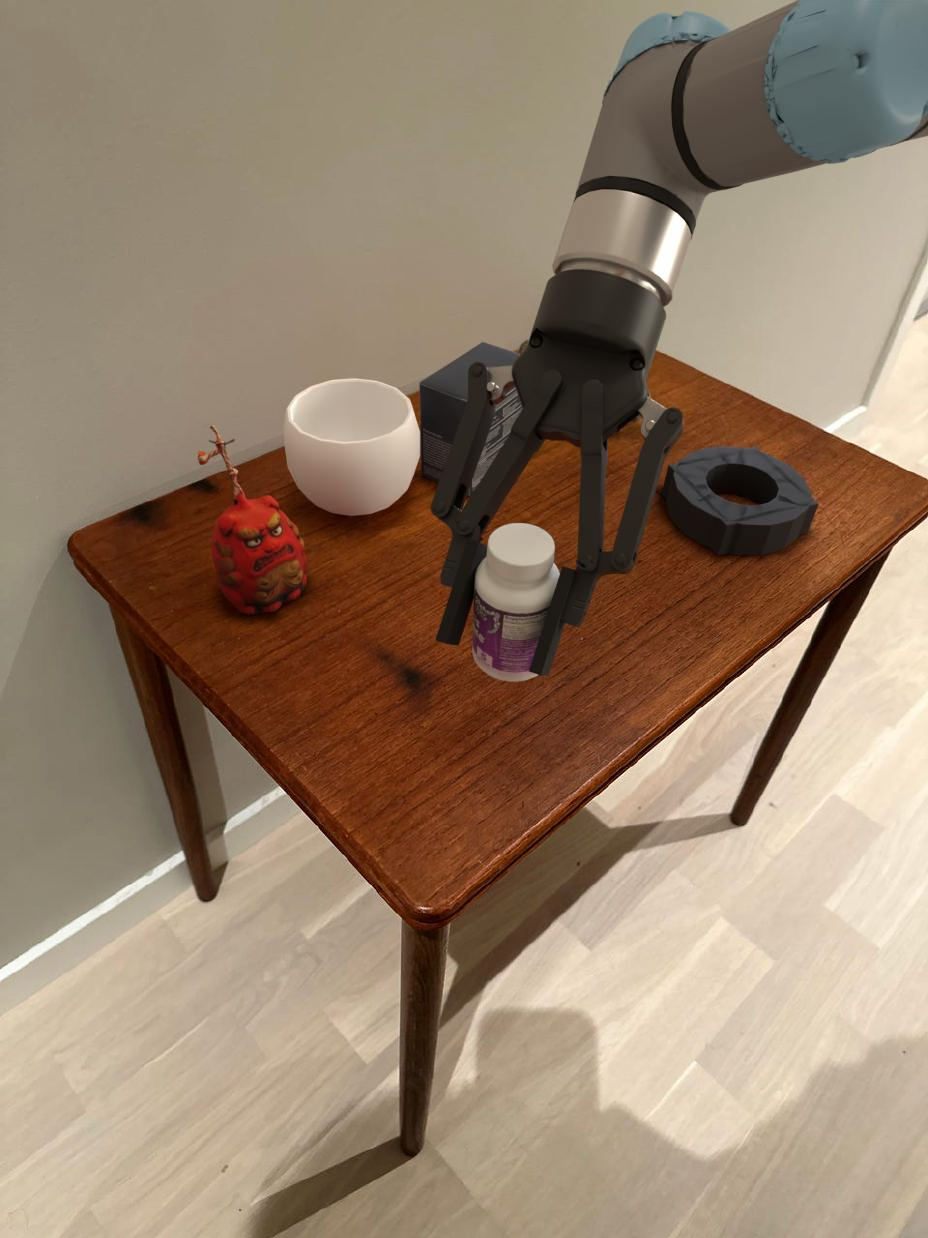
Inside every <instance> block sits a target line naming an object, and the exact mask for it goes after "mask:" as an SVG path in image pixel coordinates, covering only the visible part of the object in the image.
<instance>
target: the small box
mask: <svg viewBox="0 0 928 1238" xmlns="http://www.w3.org/2000/svg"><path fill="white" fill-rule="evenodd" d="M520 355H521V354H520V353H518V352H515V351H512V350H509V349H507V348H503V347H500V346H497V345H494V344H491V343H489V342H485V341H481V342H480V343H478V344H477V345H476V346H474V347H472V348H470V350H468V351H466V352H465V353H463V354H462V355H460V356H458V357H457V358H455V359H454V360H452V361H451V362H449V363H447V364H446V365H444V366H443V367H441V368H439V369H438V370H437V371H435V372H434V373H432V374H430V375H429V376H427V377H426V378H423V379H422V380H421V381H419V382H418V383H419V414H420V415H419V420H420V421H419V422H420V423H419V424H420V426H419V427H420V428H419V429H420V473H421V474H420V475H421V476H422V477H425V478H426V479H429V480H431V481H433V482H435V483H437V484H438V483H439V481H440V478H441V475H442V472H443V469H444V466H445V463H446V461H447V458H448V455H449V452H450V449H451V446H452V443H453V441H454V438H455V435H456V432H457V429H458V426H459V423H460V420H461V418H462V415H463V412H464V409H465V406H466V403H467V400H468V370H469V367H470V366H471V365H472V364H473V363H475V362H482V363H484V364H485V366H486V367H487V368H489V367H500V366H510V365H513V364H514V362H515V360H516V359H517V358H518V357H519V356H520ZM522 409H523V408H522V405H521V402H520V399H519V396H518V393H517V390H516V387H515V386H512V387H510V388H509V389H508V391H507V392H506V396H505V399H504V400H503V401H502V402H501V403H499V404H496V410H495V416H494V419H493V423H492V425H491V428H490V431H489V434H488V437H487V440H486V443H485V445H484V448H483V451H482V454H481V457H480V460H479V463H478V465H477V468H476V471H475V474H474V477H473V480H472V482H471V485H470V488H469V491H468V494H467V497H471V495H472V494H473V492H474V490H475V489H476V487H477V486H478V484H479V483H480V481H481V479H482V478H483V476H484V475H485V473H486V471H487V470H488V468H489V467H490V465H491V464H492V462H493V460H494V459H495V457H496V456H497V454H498V452H499V451H500V449H501V448H502V446H503V445H504V443H505V441H506V440H507V438H508V437H509V435H510V432H511V428H512V425H513V424H514V422H515V420H516V419H517V417H518V416H519V414H520V412H521V411H522Z"/></svg>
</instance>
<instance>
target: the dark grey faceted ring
mask: <svg viewBox="0 0 928 1238" xmlns="http://www.w3.org/2000/svg"><path fill="white" fill-rule="evenodd" d="M718 494H733V495H738V496H741V497H745V498H748V499H749V500H752V501H753V502H755V503H757V504H755V505H753V504H741V503H737V502H733V501H729V500H727V499H725V498H723V497H721V496H719V495H718ZM661 496H663V498H664V499H665V500H666V501H665V504H666V508H667V512H668V516H669V517H668V518H669V519H670V521H671V522H672V523H673V524H674V525H675V526H676V527H677V529H678V530H679V531H680V532H681V533H682V534H683V535H685V536H686V537H688V538H690V539H691V540H693V541H695V542H697V543H698V544H700V545H702V546H703V547H706V548H708V549H711V550H712V552H713V553H714V554H715V555H716V556H723V555H726V554H729V555H736V556H764V555H768V554H771V553H775V552H780V551H783V550H785V549H786V548H787V547H789V546H790V545H791V544H792V543H794V542H795V541H796V540H797V539H798V538H799V536H803V535H807V534H808V533H809V531H810V529H811V526H812V523H813V521H814V518H815V515H816V514H817V513H816V512H817V510H818V508H819V504H820V503H819V502H818V501H817V500H815V499H814V498H813V493H812V491H811V489H810V486H809V485H808V482H807V480H806V478H805V477H804V476H803V475H802V474H801V473H799V472H798V471H797V470H796V469H795V468H794V467H793V466H792V465H791V464H789V463H787V462H785V461H783V460H780V459H779V458H777V457H774V456H772V455H770V454H769V453H766V452H762V451H761V450H760V449H759V448H758V447H757V446H751V447H746V448H745V447H742V446H720V445H719V446H711V447H706V448H702V449H698V450H697V449H696V450H693V451H692V452H690V453H689V454H687V455H686V456H684V457H682V458H680V459H679V460H678V462H675V463H670V464H668V465H667V469H666V474H665V478H664V482H663V486H662V491H661Z"/></svg>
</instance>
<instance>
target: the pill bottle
mask: <svg viewBox="0 0 928 1238" xmlns="http://www.w3.org/2000/svg"><path fill="white" fill-rule="evenodd" d="M486 546H487V557H485V558H484V559H483V561H482V562H481V563H480V565H479V566H478V568H477V570H476V574H475V582H474V599H473V609H472V611H473V613H472V639H471V640H472V641H471V642H472V643H471V645H472V647H471V652H472V657H473V660H474V662H475V664H476V665H477V667H478V668H479V669H480V670H481V671H483V672H484V673H485V674H487V675H488V676H489V677H491V678H494V679H496V680H499V681H504V682H510V683H511V682H512V683H513V682H514V683H515V682H516V683H517V682H524V681H527V680H530V679H533V678H536V677H537V676H539V675H538V674H535V673H532V672H529V669H530V666H531V663H532V660H533V657H534V654H535V650H536V647H537V644H538V641H539V638H540V635H541V632H542V628H543V625H544V622H545V619H546V616H547V613H548V610H549V606H550V603H551V600H552V597H553V594H554V591H555V588H556V585H557V581H558V578H559V575H560V570H559V569H558V567H557V565H556V564H555V550H556V546H555V540H554V539H553V537H552V535H550V533H549V532H547V531H546V530H544V529H543V528H541V527H539V526H537V525H535V524H530V523H523V522H521V523H520V522H513V523H508V524H504V525H501V526H500V527H498V528H496V529H494V531H492V532H491V534H490V535H489V537H488V540H487V545H486Z"/></svg>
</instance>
